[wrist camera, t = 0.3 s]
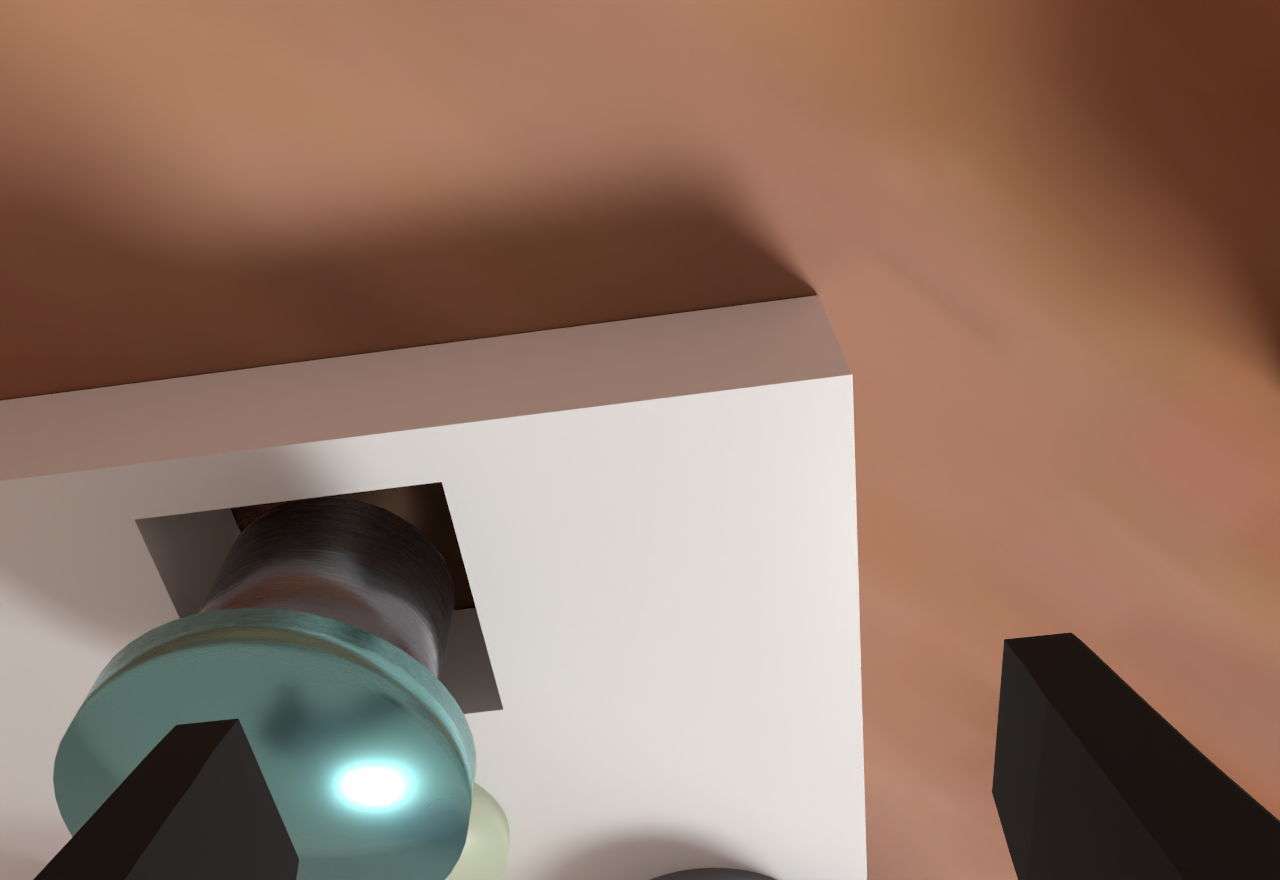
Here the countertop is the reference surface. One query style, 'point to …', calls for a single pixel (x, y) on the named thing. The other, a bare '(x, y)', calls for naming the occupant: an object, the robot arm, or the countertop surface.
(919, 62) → the countertop surface
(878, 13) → the countertop surface
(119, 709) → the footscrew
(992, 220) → the countertop surface
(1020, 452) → the countertop surface
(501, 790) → the instrument base
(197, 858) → the robot arm
